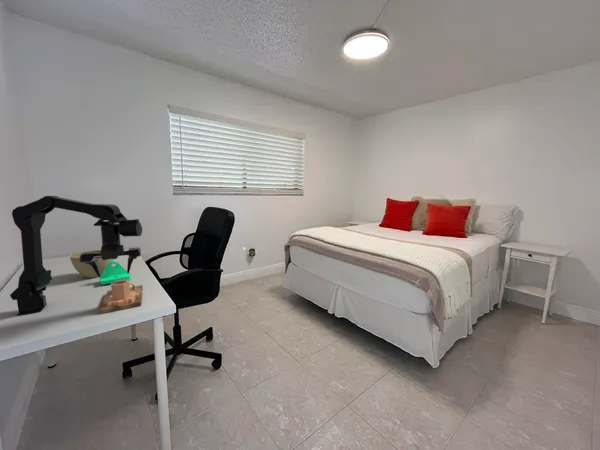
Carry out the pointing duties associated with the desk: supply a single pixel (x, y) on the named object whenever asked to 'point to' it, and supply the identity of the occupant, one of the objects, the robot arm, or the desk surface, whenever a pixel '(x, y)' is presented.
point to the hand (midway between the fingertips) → (114, 275)
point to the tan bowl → (88, 265)
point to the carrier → (129, 305)
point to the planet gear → (120, 294)
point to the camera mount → (114, 273)
